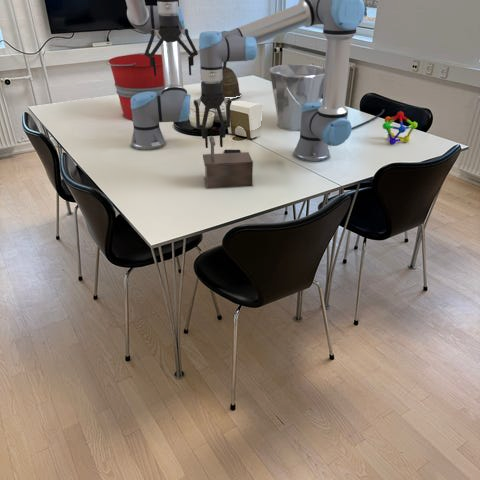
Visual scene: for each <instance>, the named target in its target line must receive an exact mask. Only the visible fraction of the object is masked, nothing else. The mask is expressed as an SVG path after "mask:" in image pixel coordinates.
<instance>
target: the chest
mask: <svg viewBox="0 0 480 480" xmlns="http://www.w3.org/2000/svg"><path fill="white" fill-rule="evenodd" d="M253 171H254V163H253V164H244V165H225V166H205V165H204V173H205V177H204V178H205V182H206V187H207V188H206V189H219V188H235V187H237V188H238V187H252V186H253V176H254V175H253V173H254V172H253Z"/></svg>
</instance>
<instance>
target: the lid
mask: <svg viewBox="0 0 480 480" xmlns="http://www.w3.org/2000/svg"><path fill="white" fill-rule="evenodd" d="M208 140H209V145H210V153H203V154H202V160H203V165H204V167H205V166H225V165H244V164H253V165H254V161H253V159H252V157H251V154H250V152H249V151H245V152H244V151H243V152H240V153H224V152H223V153H221V152H220V153H215V146H216V141H215V138H214V136H213V135H210V136H209V137H208Z"/></svg>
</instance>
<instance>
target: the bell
mask: <svg viewBox="0 0 480 480" xmlns="http://www.w3.org/2000/svg"><path fill="white" fill-rule="evenodd" d="M227 63H228V62H223V63H222V67H223V68H222V74H223V80H222V82H223V95H224V97H236V96H240V95H241V96H242V93H241V92H240V83H239V80H238V79H239V78H238V77H237V75H236V73H235V72H234V70H232V69H231V68H230V67H227Z"/></svg>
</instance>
